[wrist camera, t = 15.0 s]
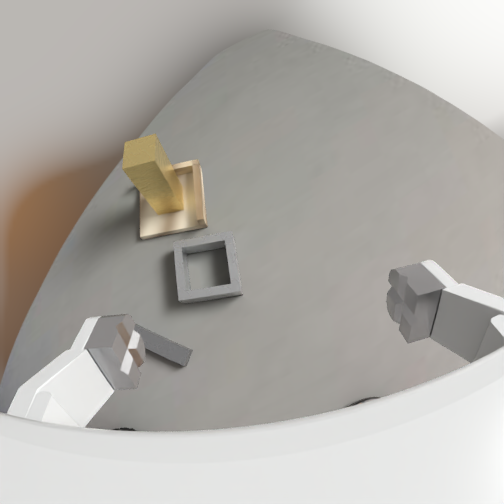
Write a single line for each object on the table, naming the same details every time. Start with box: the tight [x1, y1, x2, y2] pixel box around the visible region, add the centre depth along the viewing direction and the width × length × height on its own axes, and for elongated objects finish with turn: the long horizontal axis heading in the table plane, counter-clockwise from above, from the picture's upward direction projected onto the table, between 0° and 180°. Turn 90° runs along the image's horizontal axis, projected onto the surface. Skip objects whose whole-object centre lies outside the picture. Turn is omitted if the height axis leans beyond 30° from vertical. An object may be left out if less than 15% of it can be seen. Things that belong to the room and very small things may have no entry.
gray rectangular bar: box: [134, 324, 193, 366], centre depth 42 cm, size 10×2×2 cm, turn 70°
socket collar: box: [173, 231, 243, 304], centre depth 44 cm, size 9×9×3 cm
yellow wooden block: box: [122, 134, 184, 215], centre depth 41 cm, size 4×4×14 cm
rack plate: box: [140, 159, 208, 239], centre depth 48 cm, size 11×11×3 cm
